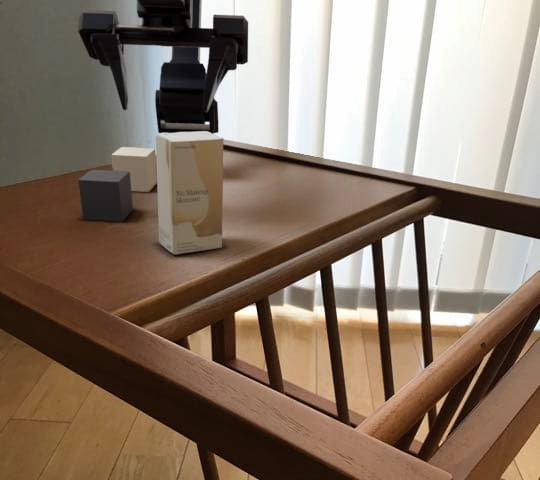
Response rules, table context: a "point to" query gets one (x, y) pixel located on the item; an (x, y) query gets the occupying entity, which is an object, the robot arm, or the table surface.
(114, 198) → the slate block
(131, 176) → the ivory block
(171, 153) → the cosmetic box
